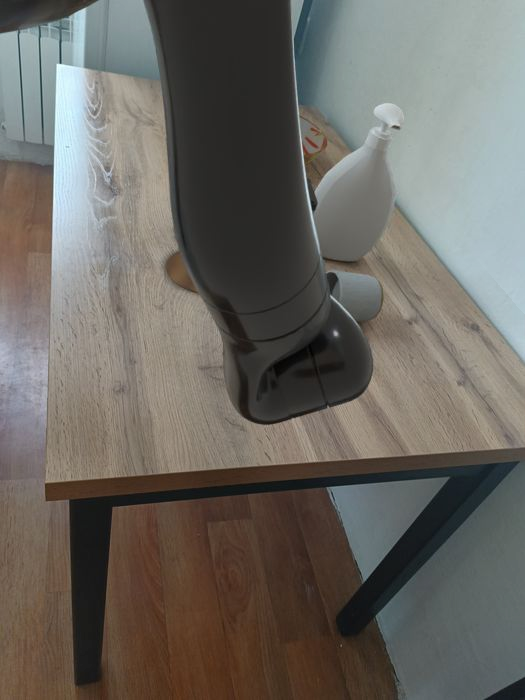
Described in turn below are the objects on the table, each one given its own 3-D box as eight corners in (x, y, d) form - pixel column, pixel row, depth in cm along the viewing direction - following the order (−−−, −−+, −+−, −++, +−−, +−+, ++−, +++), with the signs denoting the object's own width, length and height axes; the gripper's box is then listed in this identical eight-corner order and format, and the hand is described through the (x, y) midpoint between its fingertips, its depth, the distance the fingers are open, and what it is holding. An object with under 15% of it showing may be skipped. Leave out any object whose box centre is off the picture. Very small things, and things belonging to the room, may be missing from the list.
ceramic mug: (374, 331, 84) (394, 292, 79) (327, 331, 81) (344, 291, 76) (349, 288, 91) (366, 251, 86) (305, 287, 88) (320, 247, 83)
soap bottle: (296, 263, 93) (352, 105, 74) (292, 236, 98) (343, 84, 80) (374, 277, 96) (447, 129, 77) (366, 251, 101) (431, 107, 83)
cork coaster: (157, 282, 80) (157, 281, 80) (174, 243, 88) (174, 242, 88) (229, 301, 81) (229, 300, 80) (240, 261, 89) (240, 260, 89)
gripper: (345, 213, 50) (307, 138, 61) (191, 189, 45) (182, 112, 57) (319, 278, 54) (288, 197, 66) (178, 261, 50) (171, 178, 62)
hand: (239, 158), depth 61 cm, fingers open, 8 cm apart
